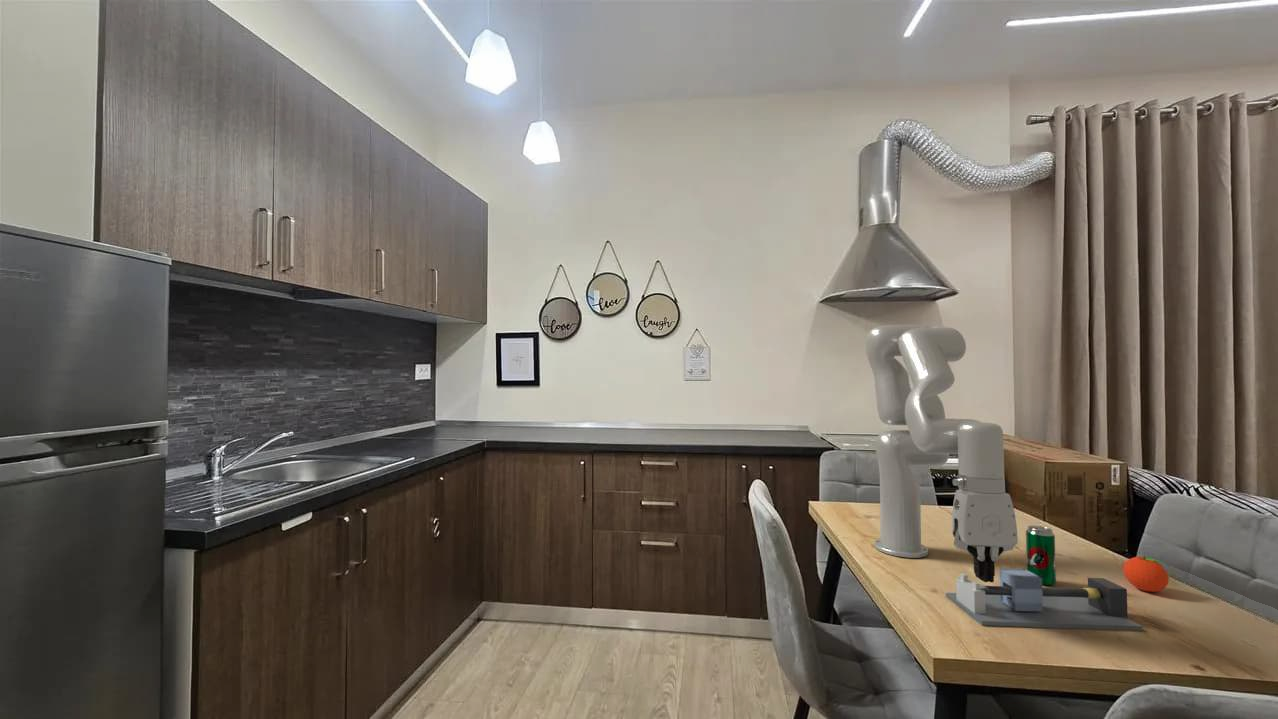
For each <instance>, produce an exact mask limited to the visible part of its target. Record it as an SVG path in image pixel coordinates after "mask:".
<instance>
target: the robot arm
mask: <svg viewBox="0 0 1278 719" xmlns="http://www.w3.org/2000/svg"><path fill="white" fill-rule="evenodd" d="M865 340H866V341H865V353H866V357H867V361H868V363H869V365H870V368H871V371H872V374H873V378H874V386H875V396H876V397H875V399H876V405H877V406H876V407H877V414H878V418H879V419H880V421H881V422H882V423H883V424H884V425H888V426H907V428H908V429H907V430H906V429H903V430H902V429H899V430H898V429H893V430H886V431H882V432H881V433H880V434H879V435H877V437H876V439H875V444H874V448H875V453H876V454H875V455H876V458H877V463H878V464H877V465H878V471H879V494H880V495H879V501H880V502H879V504H880V505H879V506H880V507H879V509H880V514H879V515H880V516H879V517H880V529H879V530H880V538H877V539H875V541H874V548H876V550H878V551H880V552H882V553H884V554H887V555H890V556H894V557H900V558H906V559H907V558H910V559H913V558H914V559H918V558H924V557H926V556H928V555H929V549H928V547H927V546H925V545H924V544H922V521H921V520H922V519H921V518H922V515H921V514H922V513H921V512H922V511H921V508H922V507H921V505H922V504H921V485H920V482H919V480H918V478H917V477H916V476H915V474H914V472H912V470H911V468H915V467H919V468H922V467H924V468H925V467H928V468H930V467H931V468H934V467H938V468H939V467H942V466H944V465H946V463H947V462H948V460H949V457H950V455H957V463H958V466H957V467H958V470H957V471H958V475H957V478H953V479H952V485H953V486H957V488H958V489H956V490H955V493H954V499H953V503H952V504H953V505H952V515H951V531H952V532H951V533H952V536H953V538H954V540H953V546H954V547H956V549H959V550H963V551H966V552H968V553H969V554H970V556H972V557H973V558H972V559H973V572H974V575H975V576H974V577H975V578H978V580H981V581H982V582H983V583H988V582H989V583H994V582H995V576H996V574H995V573H996V572H995V571H996V569H995V562H997V561H998V560H999V556H1001V554H1003V553H1004V552H1008V551H1012V550H1014V548H1015V546H1016V545H1017V544H1018V539H1019V538H1018V536H1019V535H1018V526H1017V520H1016V513H1015V508H1014V504H1013V501H1012V497H1011V494H1010V493H1007V492H1006V482H1005V481H1006V479H1005V454H1004V453H1005V452H1004V431H1003V429H1002V426H1000V425H999V424H996V423H992V422H982V421H980V420H976V419H971V418H946V413H945V412H946V411H945V409H944V405H943V402H942V400H941V398H940V397H939V395H940V394H942V393H944V392H946V391H947V390H948V389H950V388H952V386H953V384H954V383H955V374H954V372H953V371H952V368H951V365H950V364H949V363H950V362H951V363H953V362H954V363H955V362H959V361H960V360H961V359H963V358H964V356H965V354H966V351H967V346H966V339H965V338H964V336H963V335H962V333H961V332H960V331H959V330H957V329H955V328H953V327H947V326H946V327H945V326H941V325H933V324H932V325H931V324H886V325H879V326H876V327H873V328H872V329H871V330H869V332H868V334H867V336H866V339H865ZM895 357H902V359H903V360H902V361H903V363H904V365H903V364H902V363H901V361H899V360H898V359H897V358H895ZM904 366H905V367H904ZM910 381H911V382H912V385H913V388H911V385H910Z"/></svg>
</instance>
